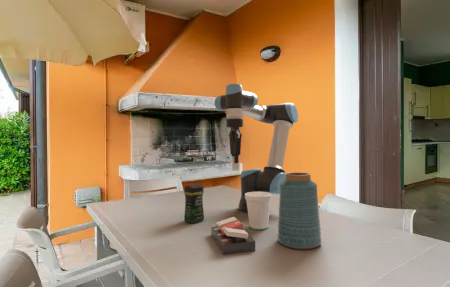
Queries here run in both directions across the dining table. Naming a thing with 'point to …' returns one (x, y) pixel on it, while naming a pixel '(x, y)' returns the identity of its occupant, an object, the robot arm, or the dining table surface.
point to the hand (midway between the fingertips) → (235, 170)
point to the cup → (258, 209)
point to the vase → (299, 212)
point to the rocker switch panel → (232, 242)
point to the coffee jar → (194, 203)
